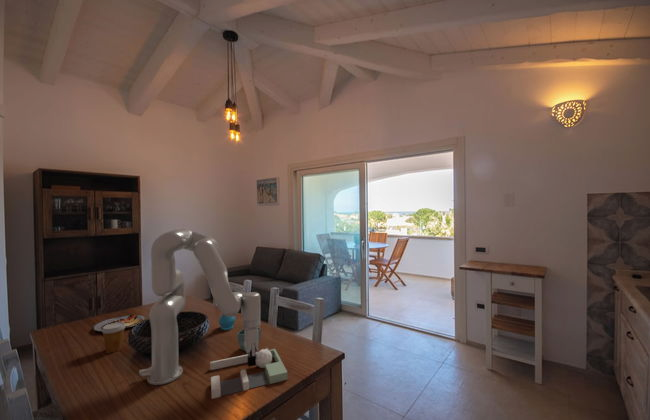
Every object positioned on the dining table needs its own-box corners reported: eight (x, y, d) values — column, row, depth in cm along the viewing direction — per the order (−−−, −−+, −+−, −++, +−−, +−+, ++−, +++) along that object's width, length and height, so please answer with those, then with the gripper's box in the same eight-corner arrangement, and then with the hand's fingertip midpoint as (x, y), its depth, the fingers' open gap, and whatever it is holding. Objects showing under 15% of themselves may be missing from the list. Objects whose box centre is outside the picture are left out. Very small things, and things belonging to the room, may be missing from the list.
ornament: (251, 365, 122) (258, 345, 127) (268, 370, 123) (274, 351, 127) (252, 364, 117) (259, 344, 121) (269, 370, 117) (276, 349, 122)
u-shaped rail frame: (211, 398, 101) (211, 390, 101) (210, 368, 120) (210, 361, 120) (287, 379, 112) (287, 372, 112) (275, 355, 131) (275, 348, 131)
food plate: (143, 315, 185) (142, 310, 185) (148, 326, 167) (148, 320, 167) (93, 325, 169) (93, 319, 169) (94, 338, 151) (93, 332, 151)
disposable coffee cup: (129, 344, 144) (129, 320, 144) (120, 353, 135) (120, 328, 135) (107, 346, 141) (107, 322, 142) (97, 356, 132) (97, 330, 132)
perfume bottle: (238, 326, 165) (238, 300, 165) (225, 332, 157) (225, 305, 157) (228, 323, 170) (228, 298, 170) (215, 328, 162) (215, 302, 162)
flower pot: (254, 354, 132) (253, 335, 132) (236, 352, 134) (236, 333, 134) (261, 345, 141) (261, 327, 141) (245, 344, 143) (245, 326, 143)
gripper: (240, 317, 126) (240, 358, 126) (244, 330, 113) (245, 376, 112) (257, 315, 129) (257, 355, 129) (263, 327, 115) (263, 372, 115)
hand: (251, 364), depth 121 cm, fingers closed
